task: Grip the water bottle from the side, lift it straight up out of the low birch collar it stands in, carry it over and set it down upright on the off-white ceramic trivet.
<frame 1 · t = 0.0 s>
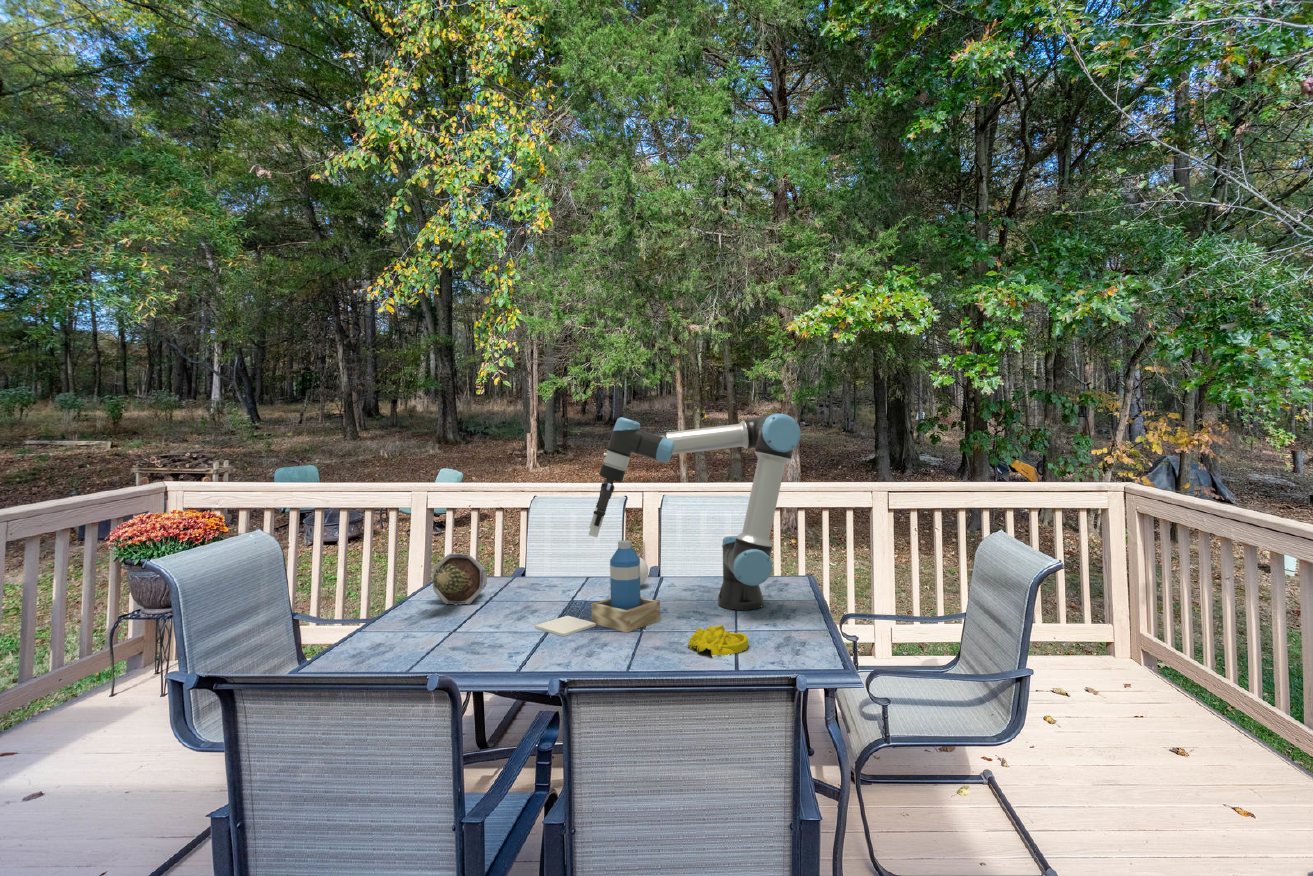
hand: (593, 532, 202), 28 cm above the table, tool tilted 20°, fingers open, 13 cm apart
door knocker: (718, 647, 180), on the table
potted plant: (457, 606, 225), on the table
decorative ball: (632, 588, 246), on the table
water bottle: (626, 622, 203), resting in holder collar
holder collar: (626, 621, 203), on the table
trivet: (565, 626, 199), on the table
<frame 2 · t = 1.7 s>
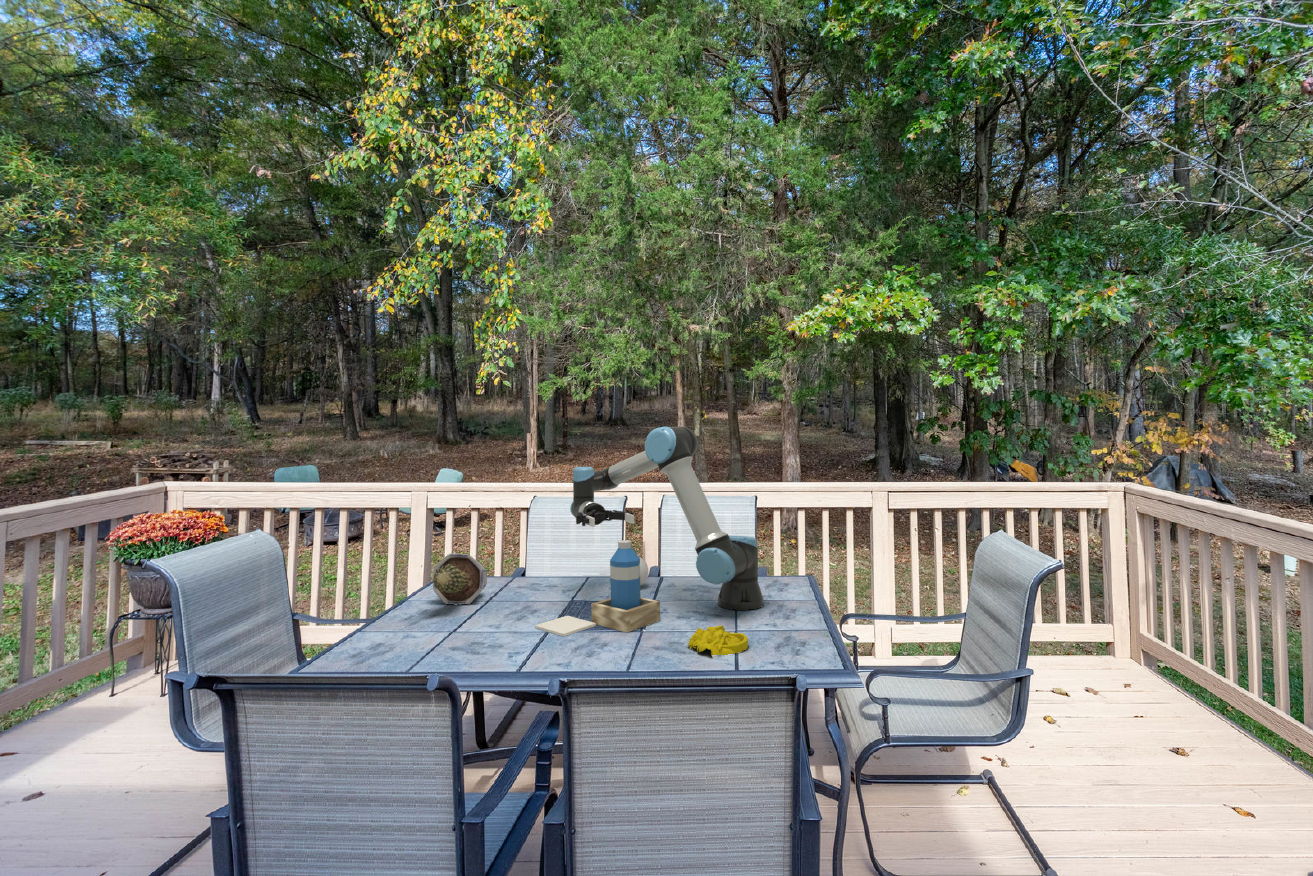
hand: (613, 521, 211), 30 cm above the table, tool horizontal, fingers open, 13 cm apart
nothing on the table moved.
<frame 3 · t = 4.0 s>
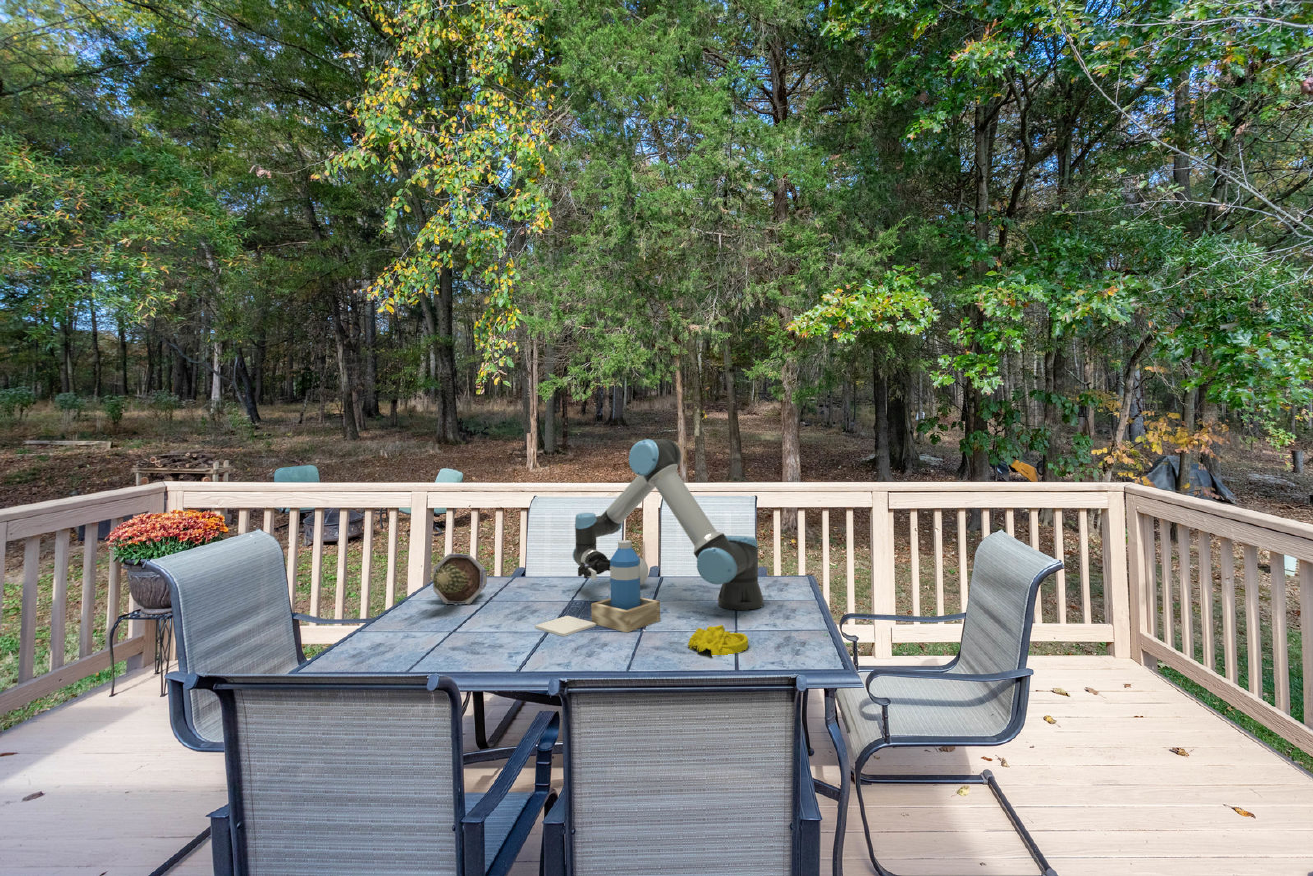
hand: (615, 573, 209), 13 cm above the table, tool horizontal, fingers open, 13 cm apart
nothing on the table moved.
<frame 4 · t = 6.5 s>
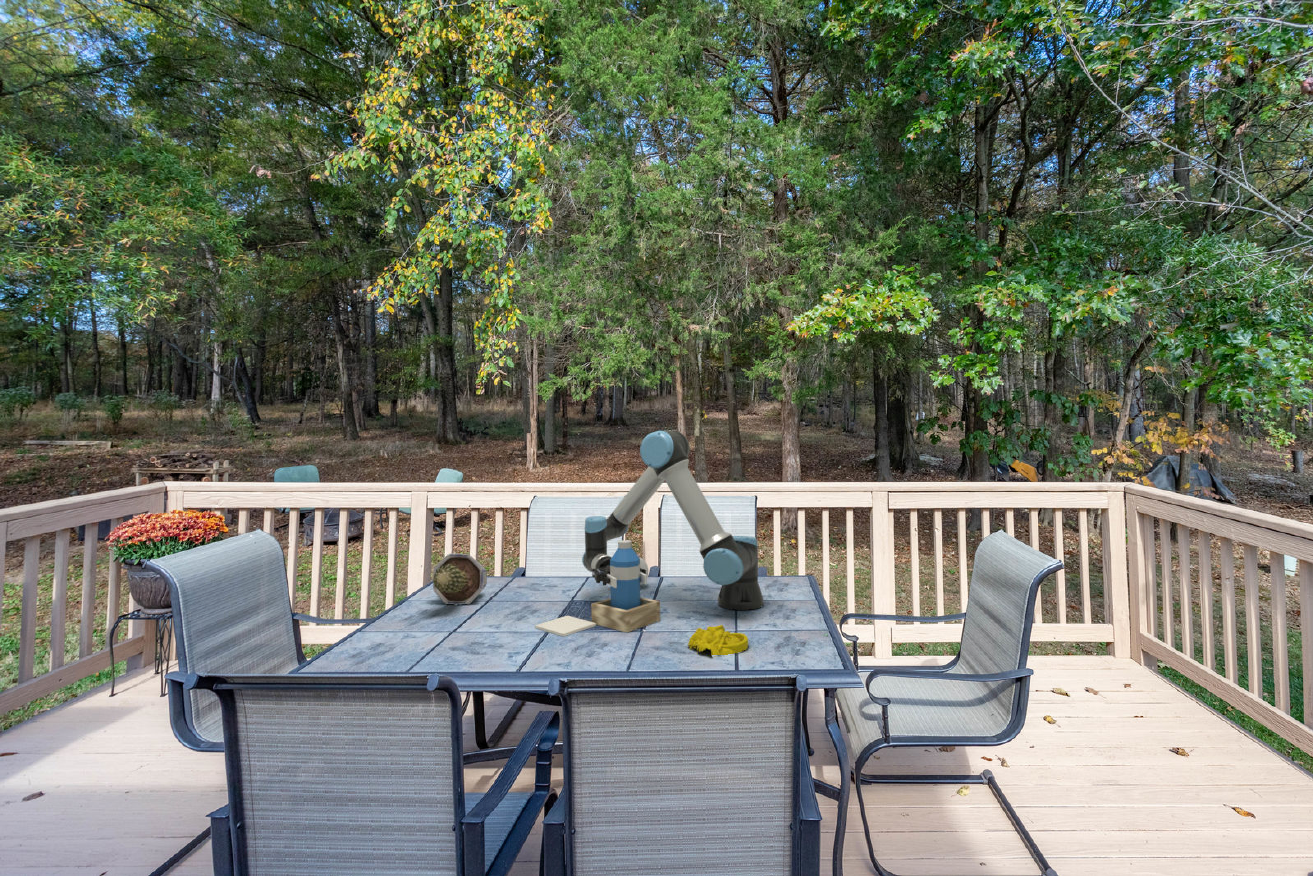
hand: (630, 581, 198), 14 cm above the table, tool horizontal, fingers closed on water bottle, 9 cm apart
water bottle: (626, 622, 203), resting in holder collar, touching gripper
everything else where it was.
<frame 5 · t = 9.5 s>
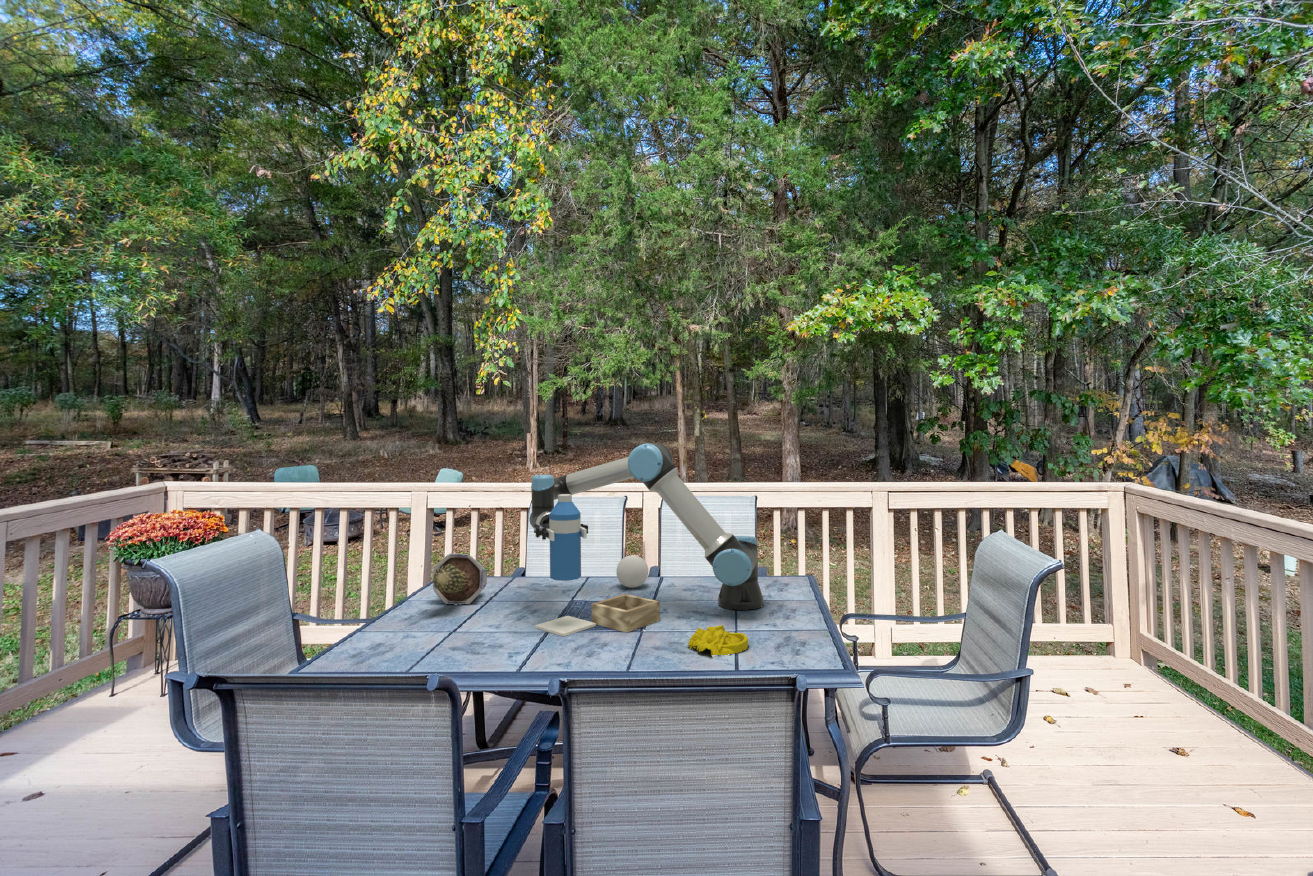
hand: (569, 535, 194), 28 cm above the table, tool horizontal, fingers closed on water bottle, 9 cm apart
water bottle: (565, 577, 199), point 15 cm above the table, touching gripper
everything else where it was.
when the fingers open (15 cm above the table, at t = 12.5 s): water bottle drops 1 cm, resting on trivet.
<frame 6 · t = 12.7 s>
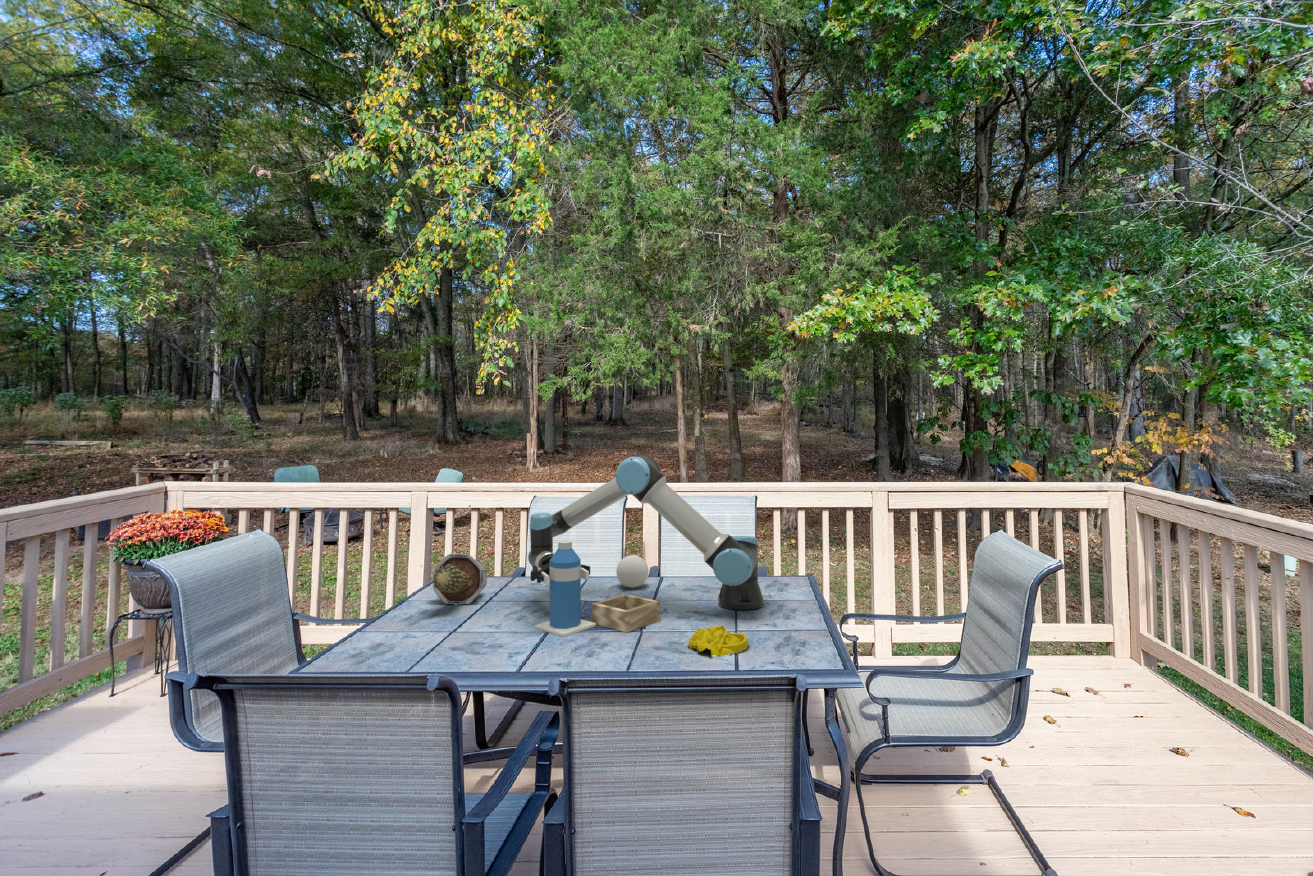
hand: (568, 578, 195), 15 cm above the table, tool horizontal, fingers open, 11 cm apart
water bottle: (565, 624, 199), point 1 cm above the table, touching trivet
everything else where it was.
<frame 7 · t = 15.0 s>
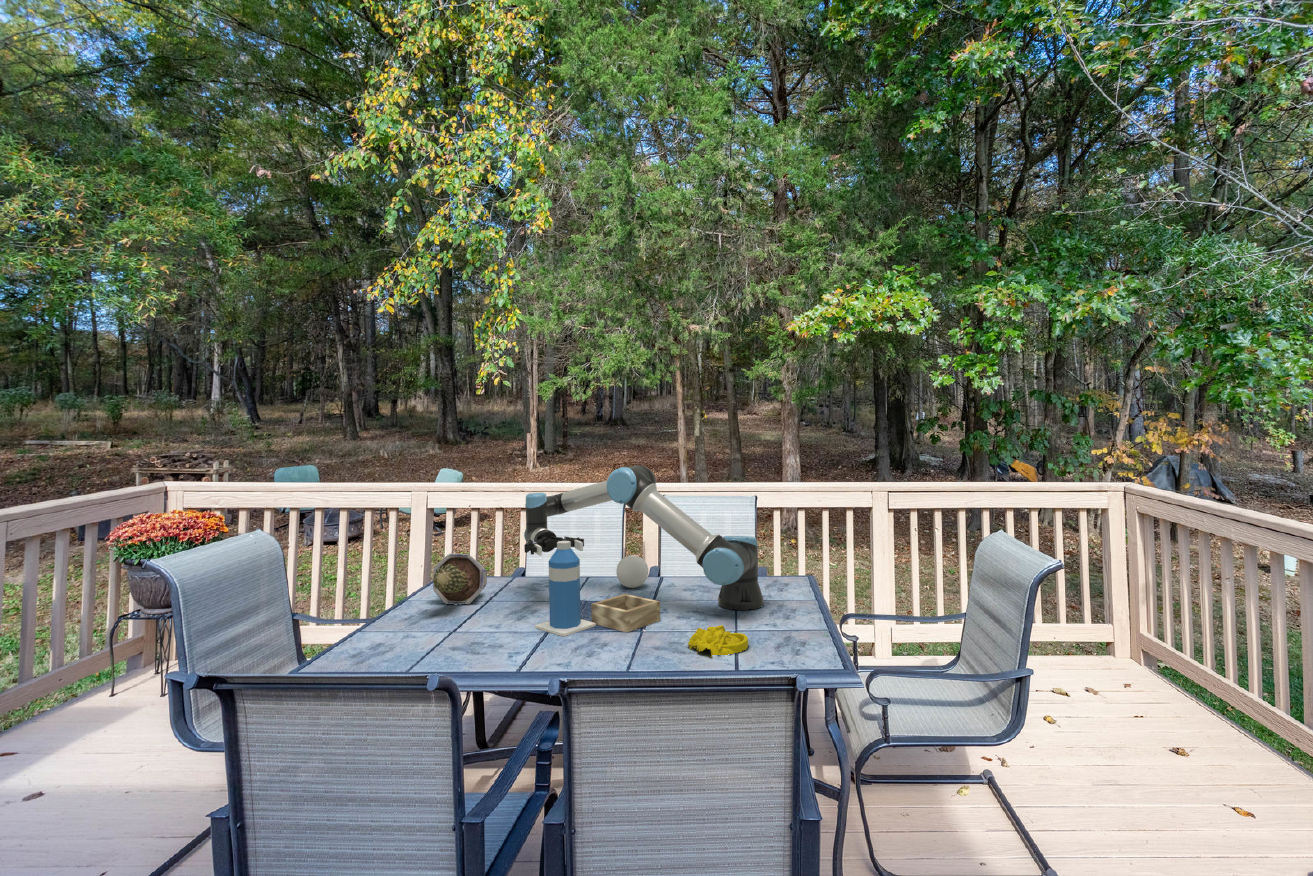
hand: (561, 549, 210), 21 cm above the table, tool horizontal, fingers open, 13 cm apart
nothing on the table moved.
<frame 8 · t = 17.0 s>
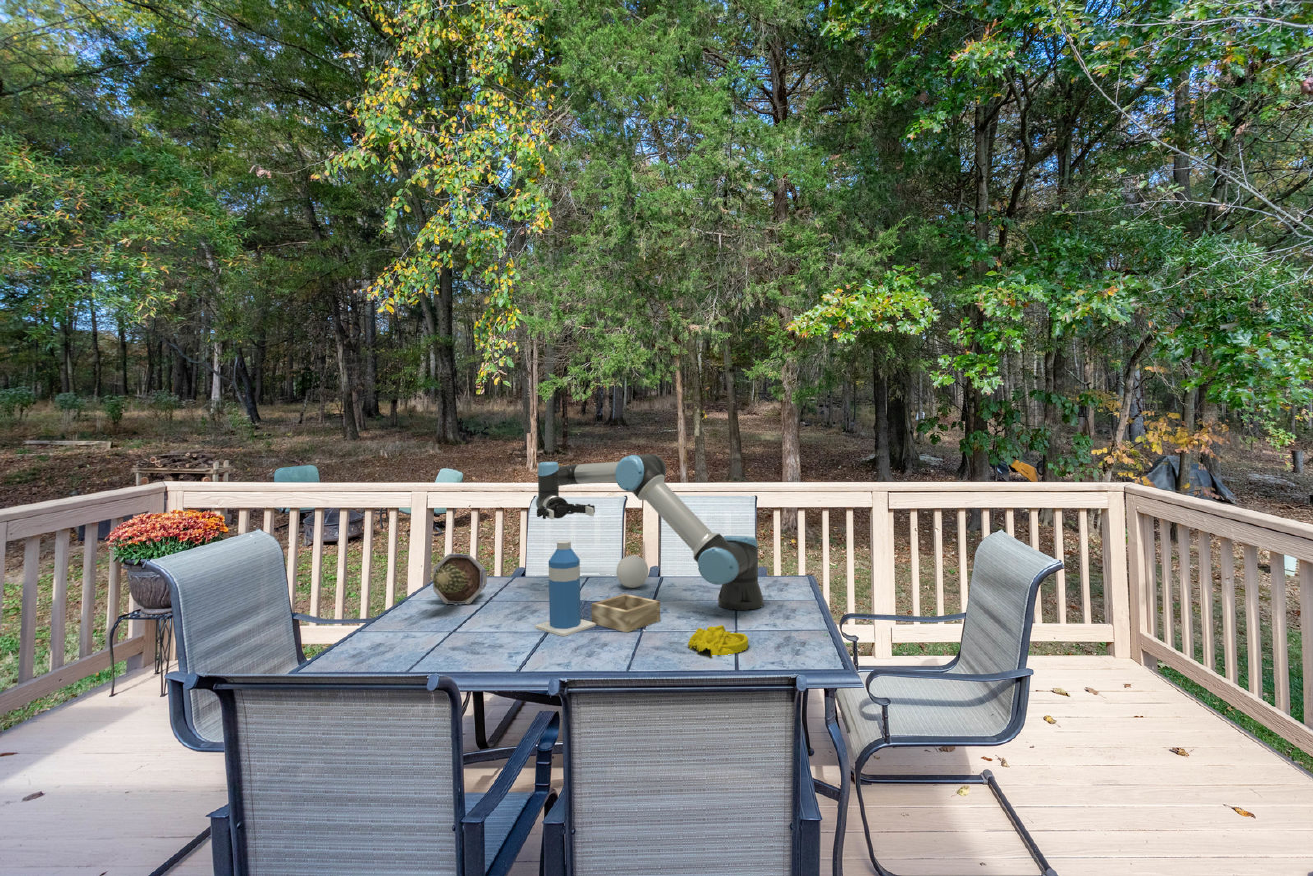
hand: (573, 513, 215), 32 cm above the table, tool horizontal, fingers open, 13 cm apart
nothing on the table moved.
at the end: water bottle inside the target area on the trivet (0.1 cm from its centre), point 0.6 cm above the trivet's base; water bottle tilted 0°; the gripper is holding nothing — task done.
